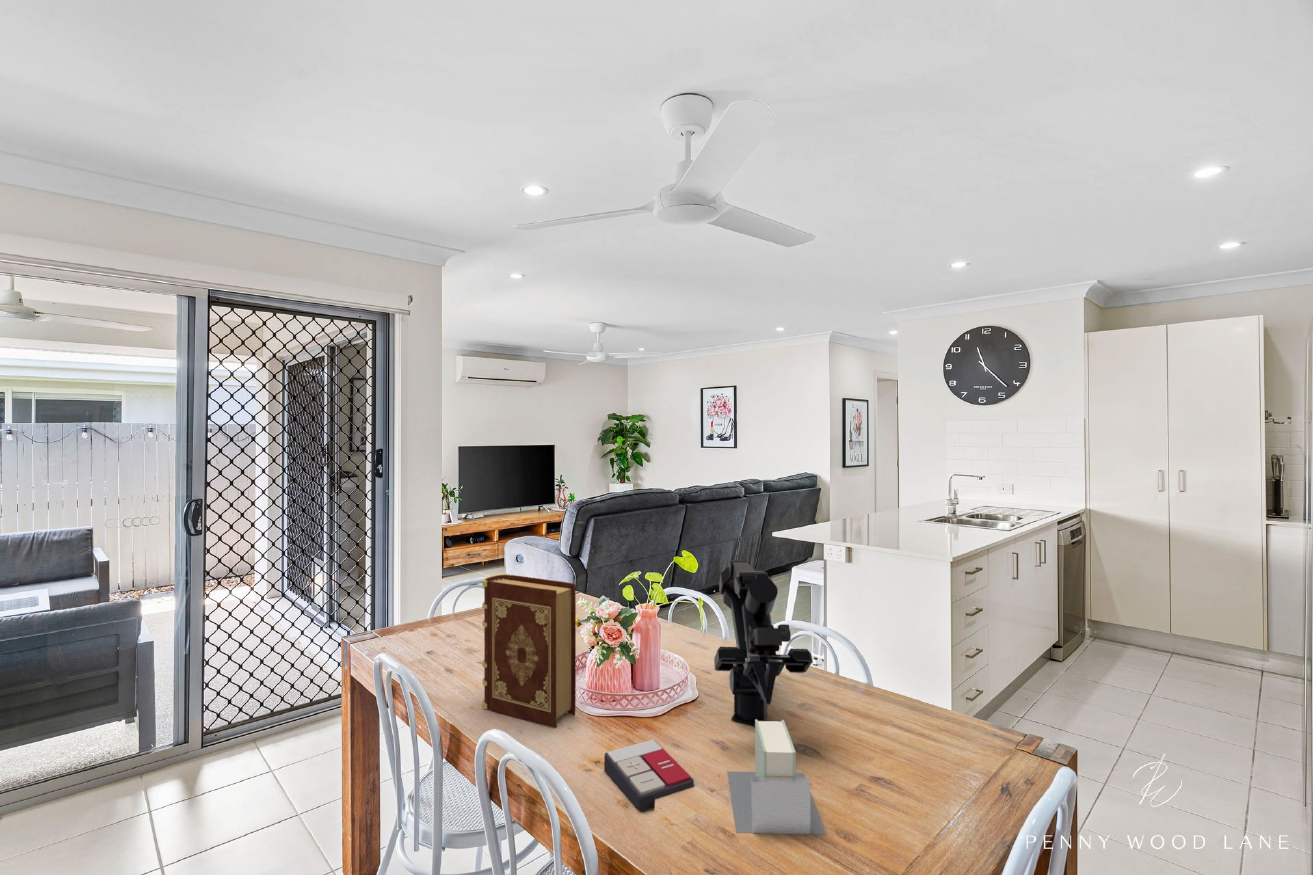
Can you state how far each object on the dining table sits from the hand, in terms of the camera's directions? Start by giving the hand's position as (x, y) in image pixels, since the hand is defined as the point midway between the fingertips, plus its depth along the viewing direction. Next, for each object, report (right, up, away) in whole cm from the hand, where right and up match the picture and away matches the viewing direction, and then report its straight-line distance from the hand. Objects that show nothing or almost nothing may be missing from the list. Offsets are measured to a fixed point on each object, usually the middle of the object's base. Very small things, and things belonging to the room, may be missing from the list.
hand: (768, 703), depth 117 cm
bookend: (-2, -11, -21) cm, 23 cm away
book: (-2, -11, -14) cm, 18 cm away
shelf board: (-2, -13, -13) cm, 18 cm away
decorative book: (-51, -13, +25) cm, 58 cm away
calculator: (-23, -13, -4) cm, 27 cm away
